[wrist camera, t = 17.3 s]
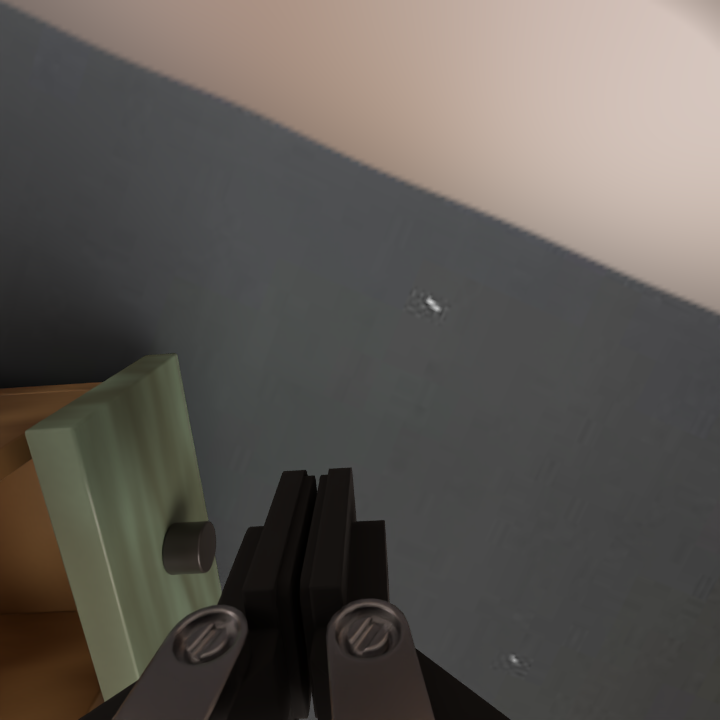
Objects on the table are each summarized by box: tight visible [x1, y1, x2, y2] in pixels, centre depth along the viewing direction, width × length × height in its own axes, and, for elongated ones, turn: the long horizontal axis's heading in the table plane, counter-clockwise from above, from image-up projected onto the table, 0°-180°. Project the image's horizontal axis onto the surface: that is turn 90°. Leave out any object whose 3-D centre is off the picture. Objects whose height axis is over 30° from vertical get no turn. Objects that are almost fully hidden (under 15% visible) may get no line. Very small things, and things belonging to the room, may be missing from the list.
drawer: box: [0, 353, 222, 720], centre depth 16 cm, size 14×12×6 cm
